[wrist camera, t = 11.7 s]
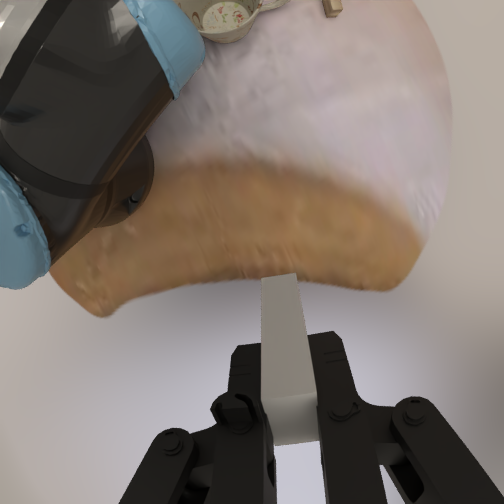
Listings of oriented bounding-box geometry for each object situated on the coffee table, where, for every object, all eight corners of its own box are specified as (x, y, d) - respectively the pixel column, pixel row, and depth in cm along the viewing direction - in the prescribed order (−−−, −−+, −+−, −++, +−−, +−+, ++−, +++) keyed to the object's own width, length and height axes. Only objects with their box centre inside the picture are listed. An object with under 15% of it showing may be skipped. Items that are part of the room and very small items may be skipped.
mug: (182, 7, 29) (158, -20, 20) (280, -25, 27) (287, -61, 18) (205, 62, 32) (187, 47, 23) (306, 29, 30) (322, 5, 21)
